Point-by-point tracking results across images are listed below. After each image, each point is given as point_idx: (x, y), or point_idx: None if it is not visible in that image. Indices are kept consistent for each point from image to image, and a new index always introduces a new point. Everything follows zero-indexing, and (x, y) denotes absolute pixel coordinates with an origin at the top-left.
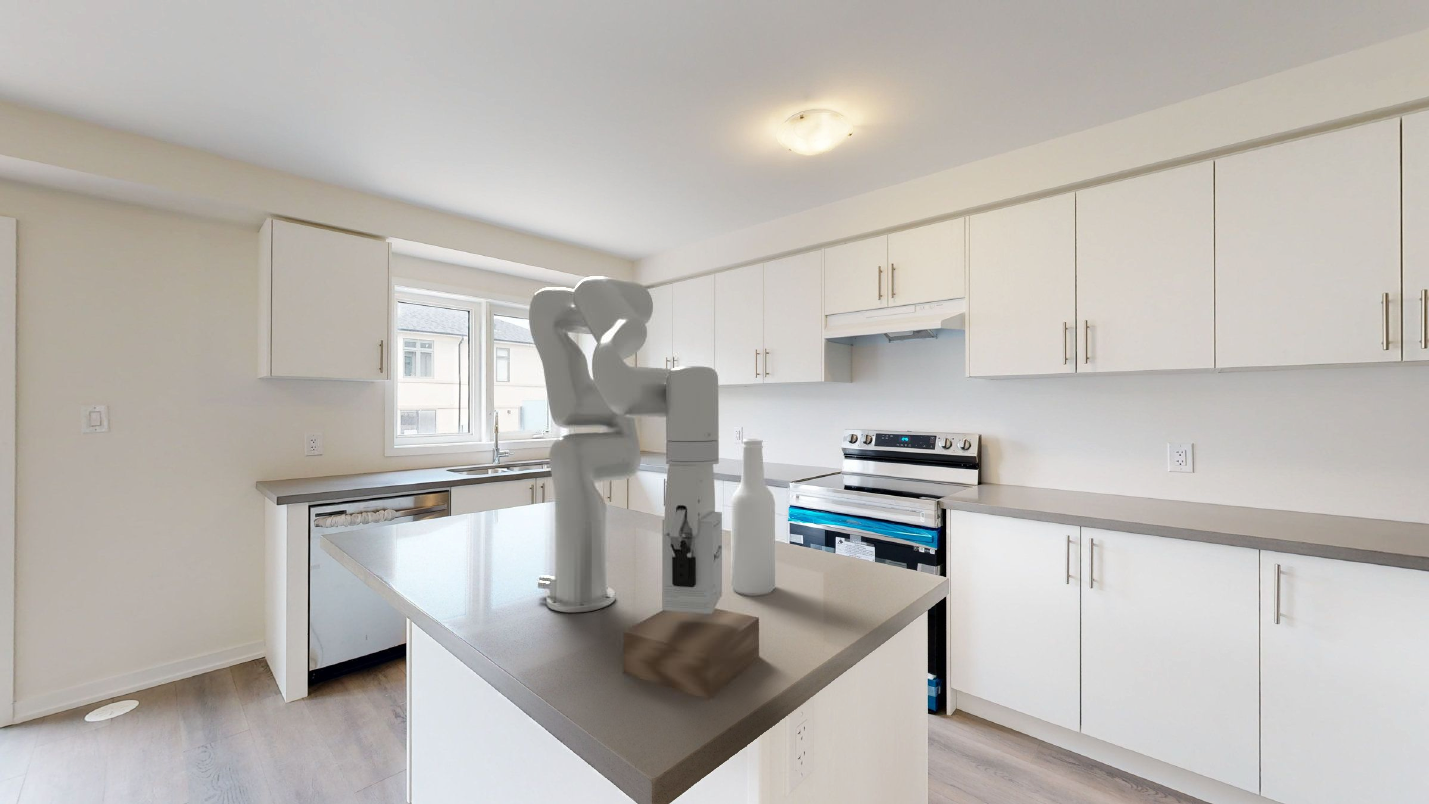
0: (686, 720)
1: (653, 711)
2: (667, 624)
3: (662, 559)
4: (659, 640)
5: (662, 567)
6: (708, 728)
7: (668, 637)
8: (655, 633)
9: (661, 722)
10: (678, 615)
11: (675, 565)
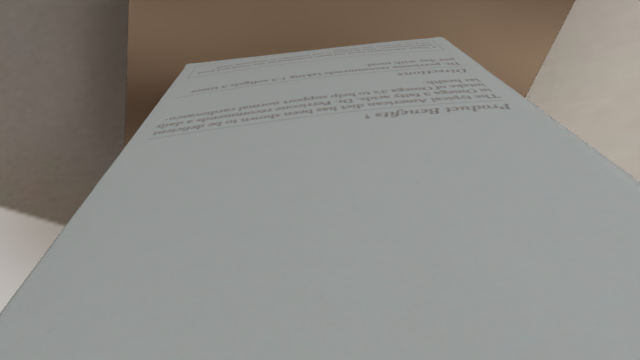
0: (52, 152)
1: (37, 66)
2: (291, 27)
3: (72, 217)
4: (132, 57)
5: (105, 174)
6: (54, 200)
7: (175, 79)
8: (185, 13)
9: (9, 104)
10: (400, 36)
11: None
